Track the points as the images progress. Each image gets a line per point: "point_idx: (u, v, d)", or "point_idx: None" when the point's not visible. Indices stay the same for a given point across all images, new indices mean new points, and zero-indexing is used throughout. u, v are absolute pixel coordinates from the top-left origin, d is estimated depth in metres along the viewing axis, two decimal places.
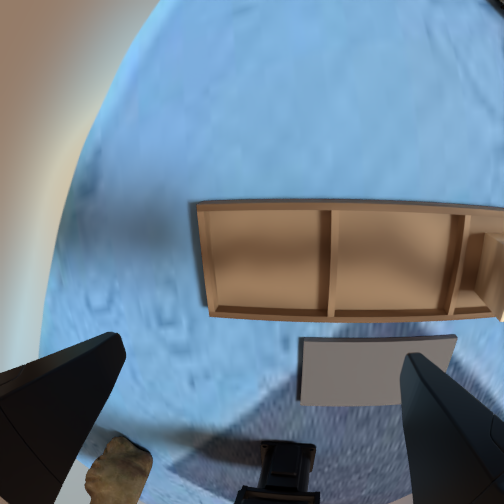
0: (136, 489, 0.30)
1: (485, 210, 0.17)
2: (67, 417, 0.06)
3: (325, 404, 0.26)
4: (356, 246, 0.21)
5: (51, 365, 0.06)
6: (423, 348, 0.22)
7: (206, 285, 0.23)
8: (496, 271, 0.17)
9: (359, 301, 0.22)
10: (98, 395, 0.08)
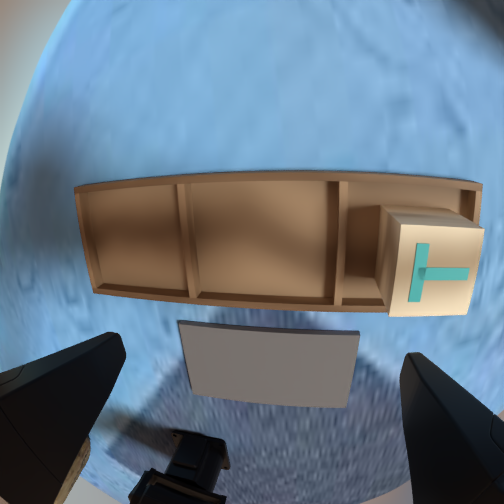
0: None
1: (370, 175, 0.16)
2: (67, 417, 0.06)
3: (217, 396, 0.26)
4: (213, 222, 0.20)
5: (51, 365, 0.06)
6: (315, 344, 0.22)
7: (87, 262, 0.23)
8: (387, 250, 0.16)
9: (226, 283, 0.22)
10: (98, 395, 0.08)
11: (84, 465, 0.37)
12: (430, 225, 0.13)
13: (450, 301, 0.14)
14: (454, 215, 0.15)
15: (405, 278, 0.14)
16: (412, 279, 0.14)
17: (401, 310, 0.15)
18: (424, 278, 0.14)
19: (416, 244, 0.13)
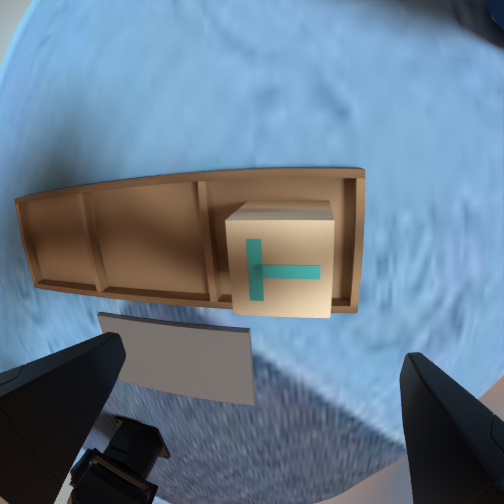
0: None
1: (227, 172, 0.17)
2: (67, 417, 0.06)
3: (139, 384, 0.27)
4: (109, 225, 0.22)
5: (51, 365, 0.06)
6: (207, 338, 0.23)
7: (27, 261, 0.24)
8: None
9: (125, 279, 0.23)
10: (98, 395, 0.08)
11: None
12: (260, 219, 0.14)
13: (303, 302, 0.15)
14: (320, 207, 0.16)
15: (240, 276, 0.15)
16: (249, 277, 0.15)
17: (245, 308, 0.16)
18: (263, 276, 0.15)
19: (246, 240, 0.14)
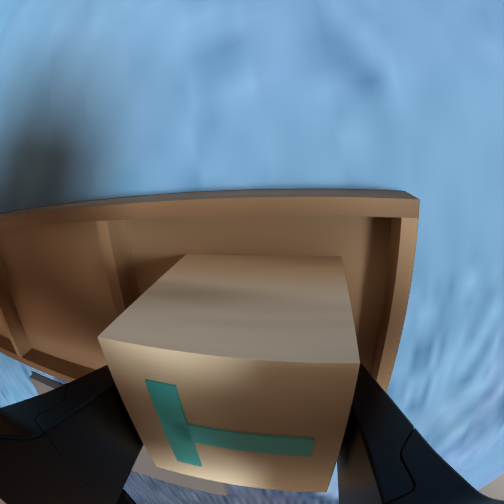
0: None
1: (140, 204, 0.09)
2: (120, 438, 0.06)
3: None
4: (16, 274, 0.13)
5: (102, 383, 0.06)
6: None
7: None
8: None
9: (46, 344, 0.14)
10: None
11: None
12: (168, 346, 0.05)
13: (276, 476, 0.06)
14: (324, 285, 0.07)
15: (152, 429, 0.06)
16: (166, 434, 0.06)
17: (172, 465, 0.07)
18: (192, 438, 0.06)
19: (148, 378, 0.06)
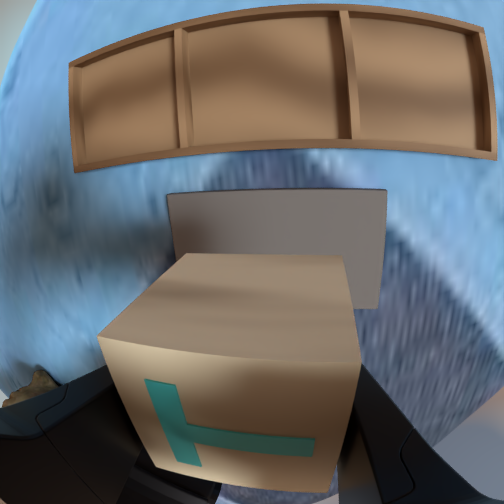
0: None
1: (369, 6, 0.12)
2: (120, 438, 0.06)
3: None
4: (211, 66, 0.16)
5: (102, 382, 0.06)
6: (333, 204, 0.18)
7: (71, 137, 0.19)
8: None
9: (224, 131, 0.18)
10: None
11: None
12: (168, 345, 0.05)
13: (276, 477, 0.06)
14: (325, 284, 0.07)
15: (152, 429, 0.06)
16: (166, 434, 0.06)
17: (172, 466, 0.07)
18: (192, 438, 0.06)
19: (147, 378, 0.06)
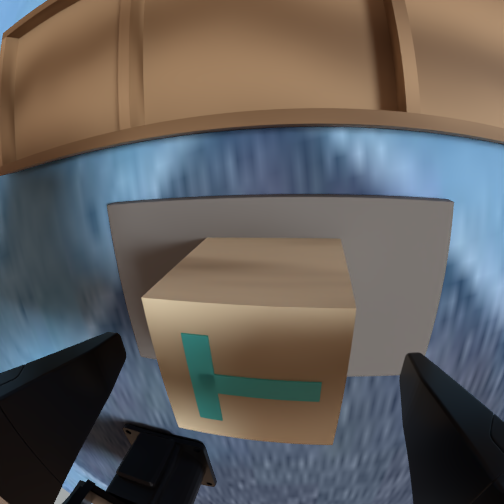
0: None
1: None
2: (67, 417, 0.06)
3: None
4: (174, 8, 0.09)
5: (51, 365, 0.06)
6: (371, 222, 0.10)
7: None
8: None
9: (189, 102, 0.10)
10: (98, 395, 0.08)
11: None
12: (204, 300, 0.07)
13: (288, 427, 0.08)
14: (326, 258, 0.09)
15: (180, 384, 0.08)
16: (194, 388, 0.08)
17: (194, 424, 0.09)
18: (217, 389, 0.08)
19: (183, 333, 0.07)
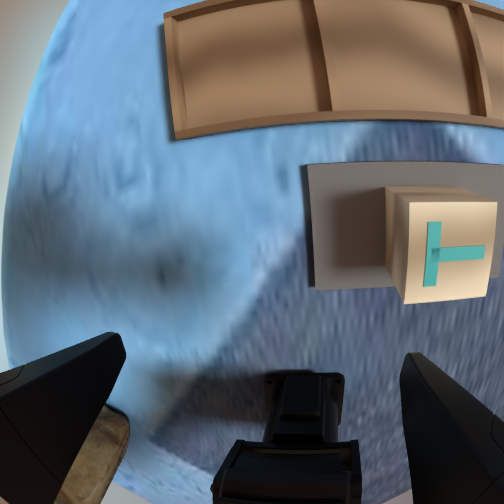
0: (102, 460, 0.23)
1: (481, 3, 0.10)
2: (67, 417, 0.06)
3: (352, 285, 0.19)
4: (350, 33, 0.14)
5: (51, 365, 0.06)
6: (470, 176, 0.15)
7: (171, 96, 0.16)
8: (396, 234, 0.15)
9: (371, 99, 0.15)
10: (98, 395, 0.08)
11: (121, 461, 0.31)
12: (440, 201, 0.12)
13: (467, 283, 0.13)
14: (463, 191, 0.14)
15: (418, 261, 0.13)
16: (426, 261, 0.13)
17: (416, 296, 0.13)
18: (438, 259, 0.13)
19: (427, 223, 0.12)
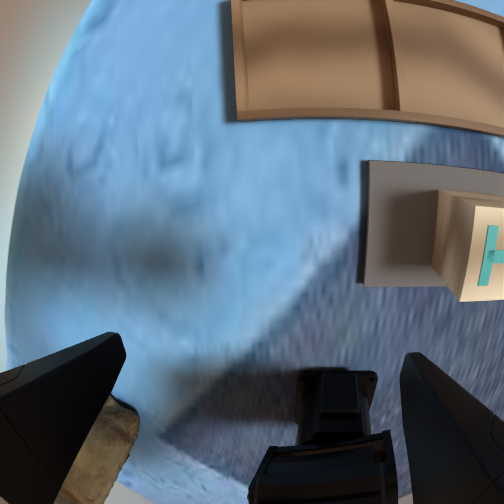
0: (113, 459, 0.22)
1: None
2: (67, 417, 0.06)
3: (399, 283, 0.18)
4: (415, 39, 0.13)
5: (51, 365, 0.06)
6: None
7: (236, 74, 0.15)
8: (453, 235, 0.14)
9: (431, 105, 0.14)
10: (98, 395, 0.08)
11: None
12: (499, 207, 0.11)
13: None
14: None
15: (476, 261, 0.12)
16: (483, 262, 0.12)
17: (470, 294, 0.13)
18: (492, 261, 0.12)
19: (487, 226, 0.12)
